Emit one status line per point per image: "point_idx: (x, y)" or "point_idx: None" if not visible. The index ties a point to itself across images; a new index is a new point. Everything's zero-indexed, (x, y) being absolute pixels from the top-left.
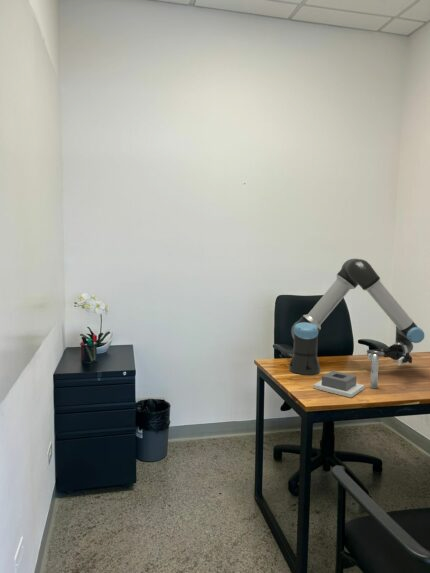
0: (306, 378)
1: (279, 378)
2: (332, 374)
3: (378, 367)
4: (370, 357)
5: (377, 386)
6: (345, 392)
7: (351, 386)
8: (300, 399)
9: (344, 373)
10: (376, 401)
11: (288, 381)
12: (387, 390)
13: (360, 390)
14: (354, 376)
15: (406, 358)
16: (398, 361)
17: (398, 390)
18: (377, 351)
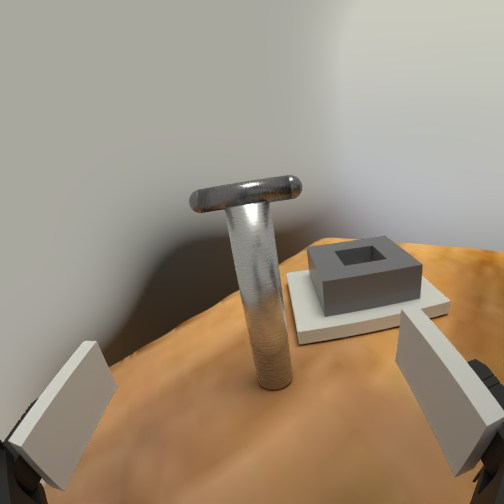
0: (483, 285)
1: (491, 253)
2: (384, 251)
3: (239, 287)
4: (410, 362)
5: (257, 377)
6: (304, 271)
7: (316, 290)
8: (355, 239)
9: (372, 271)
10: (222, 303)
11: (466, 256)
12: (211, 389)
13: (294, 318)
14: (322, 274)
15: (2, 449)
16: (103, 358)
17: (164, 416)
18: (230, 184)
